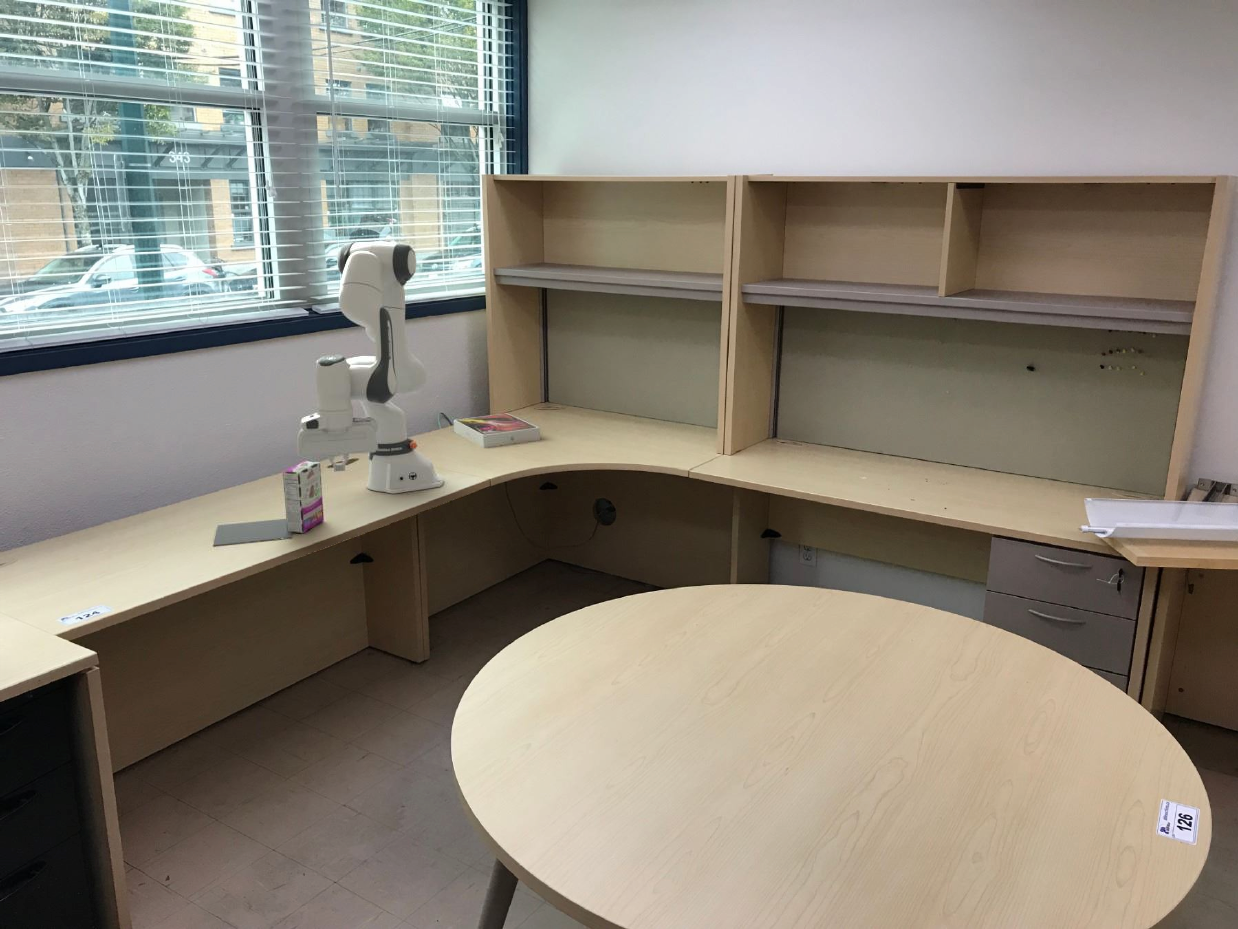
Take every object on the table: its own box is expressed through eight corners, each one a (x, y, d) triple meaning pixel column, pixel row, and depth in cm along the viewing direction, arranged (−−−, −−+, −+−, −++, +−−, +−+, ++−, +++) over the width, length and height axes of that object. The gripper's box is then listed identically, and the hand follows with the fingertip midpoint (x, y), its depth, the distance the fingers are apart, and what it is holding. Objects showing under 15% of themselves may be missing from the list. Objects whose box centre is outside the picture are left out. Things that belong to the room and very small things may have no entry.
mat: (291, 519, 262) (291, 518, 262) (291, 538, 247) (291, 537, 247) (218, 526, 256) (217, 525, 256) (213, 546, 242) (213, 545, 242)
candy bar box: (307, 519, 261) (304, 460, 257) (324, 520, 260) (321, 461, 256) (285, 532, 251) (281, 470, 246) (303, 533, 250) (299, 472, 246)
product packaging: (483, 449, 335) (483, 435, 334) (454, 433, 359) (453, 419, 358) (540, 441, 346) (539, 427, 345) (507, 426, 369) (507, 413, 368)
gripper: (376, 414, 257) (379, 464, 260) (294, 419, 251) (299, 470, 254) (377, 418, 251) (381, 470, 254) (294, 424, 245) (299, 476, 248)
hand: (339, 470), depth 254 cm, fingers closed
